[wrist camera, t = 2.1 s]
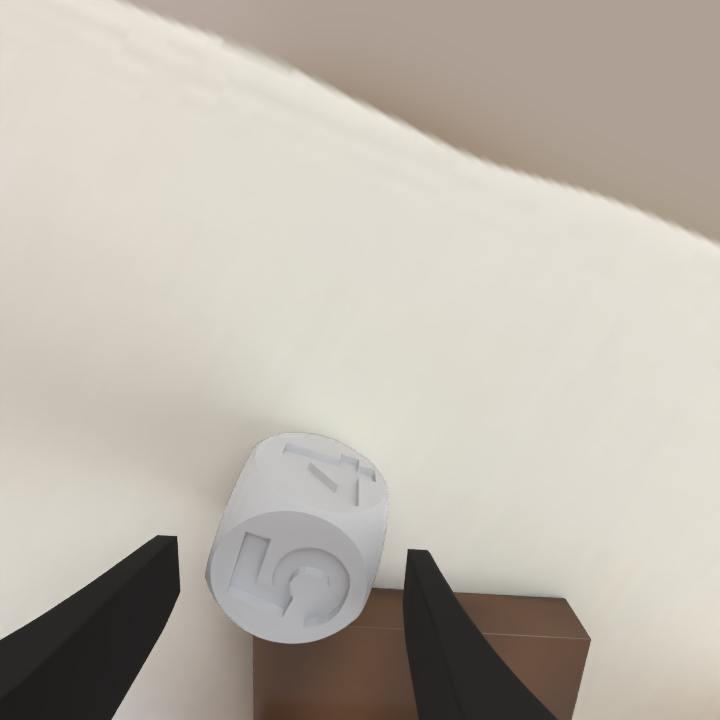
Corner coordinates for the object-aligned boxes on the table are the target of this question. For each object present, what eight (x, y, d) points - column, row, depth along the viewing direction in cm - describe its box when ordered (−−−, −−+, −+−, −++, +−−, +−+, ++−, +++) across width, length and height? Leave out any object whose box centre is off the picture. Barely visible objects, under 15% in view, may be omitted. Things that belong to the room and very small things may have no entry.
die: (271, 418, 15) (229, 485, 10) (385, 454, 16) (395, 535, 11) (240, 518, 16) (189, 622, 11) (347, 550, 17) (342, 664, 12)
